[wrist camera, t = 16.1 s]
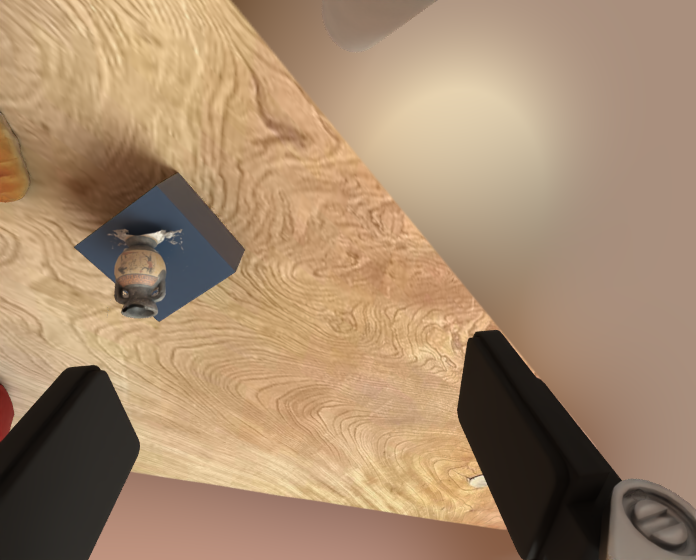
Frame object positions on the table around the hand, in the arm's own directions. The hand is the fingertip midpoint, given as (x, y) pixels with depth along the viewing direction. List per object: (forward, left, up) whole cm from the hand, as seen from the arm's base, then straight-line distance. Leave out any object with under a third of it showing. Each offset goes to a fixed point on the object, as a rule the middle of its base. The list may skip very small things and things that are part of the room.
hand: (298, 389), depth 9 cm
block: (+5, -13, -26) cm, 30 cm away
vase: (+5, -13, -22) cm, 26 cm away
